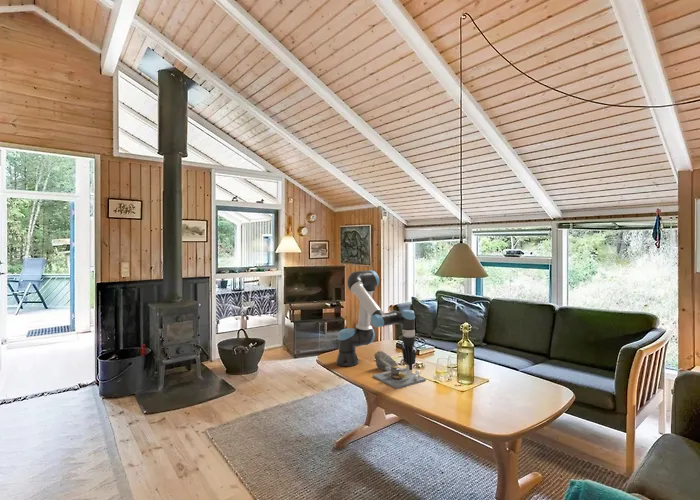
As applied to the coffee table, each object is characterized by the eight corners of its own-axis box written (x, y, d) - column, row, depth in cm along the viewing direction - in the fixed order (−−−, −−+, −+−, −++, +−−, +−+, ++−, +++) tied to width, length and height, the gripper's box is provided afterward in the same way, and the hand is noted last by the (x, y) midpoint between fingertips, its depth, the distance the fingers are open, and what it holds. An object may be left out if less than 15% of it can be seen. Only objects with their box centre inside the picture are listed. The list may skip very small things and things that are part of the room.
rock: (399, 367, 253) (388, 346, 254) (392, 373, 248) (380, 351, 250) (388, 369, 262) (377, 349, 264) (381, 375, 257) (370, 355, 259)
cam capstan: (374, 375, 241) (373, 365, 240) (398, 369, 250) (398, 359, 250) (392, 384, 224) (392, 373, 224) (418, 377, 234) (417, 367, 234)
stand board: (372, 376, 242) (372, 367, 242) (400, 369, 253) (400, 360, 253) (396, 389, 221) (396, 378, 221) (425, 380, 233) (425, 370, 232)
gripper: (397, 334, 237) (398, 372, 238) (410, 339, 226) (411, 379, 227) (406, 332, 241) (407, 370, 242) (420, 337, 230) (421, 376, 231)
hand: (409, 374), depth 234 cm, fingers closed
